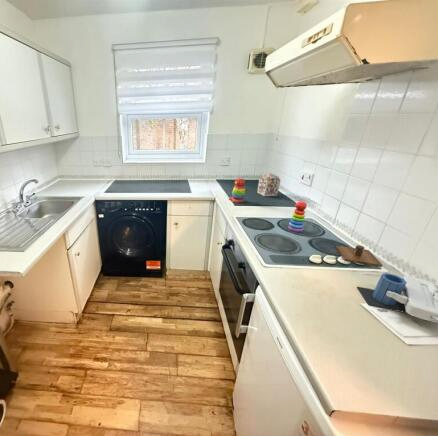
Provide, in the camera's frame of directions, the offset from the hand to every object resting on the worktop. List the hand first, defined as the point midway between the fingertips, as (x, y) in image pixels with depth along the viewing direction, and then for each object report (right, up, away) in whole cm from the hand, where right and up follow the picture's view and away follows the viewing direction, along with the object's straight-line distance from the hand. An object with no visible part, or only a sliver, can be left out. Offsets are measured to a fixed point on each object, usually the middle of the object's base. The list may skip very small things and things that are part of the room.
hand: (385, 286), depth 83 cm
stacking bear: (-13, +38, +103) cm, 111 cm away
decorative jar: (+18, +44, +118) cm, 127 cm away
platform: (+12, +5, +25) cm, 29 cm away
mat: (+1, -5, +2) cm, 6 cm away
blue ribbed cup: (+1, -5, +1) cm, 5 cm away
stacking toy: (0, +16, +51) cm, 54 cm away
